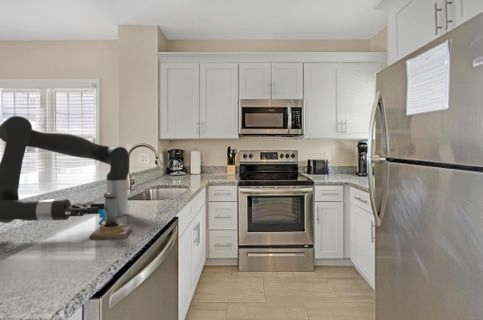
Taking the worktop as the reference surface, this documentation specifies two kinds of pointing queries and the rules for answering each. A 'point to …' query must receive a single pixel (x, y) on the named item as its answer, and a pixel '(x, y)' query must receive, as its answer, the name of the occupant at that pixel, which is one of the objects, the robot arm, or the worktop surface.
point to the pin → (110, 209)
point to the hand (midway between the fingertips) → (101, 208)
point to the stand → (110, 232)
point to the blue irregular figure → (102, 215)
